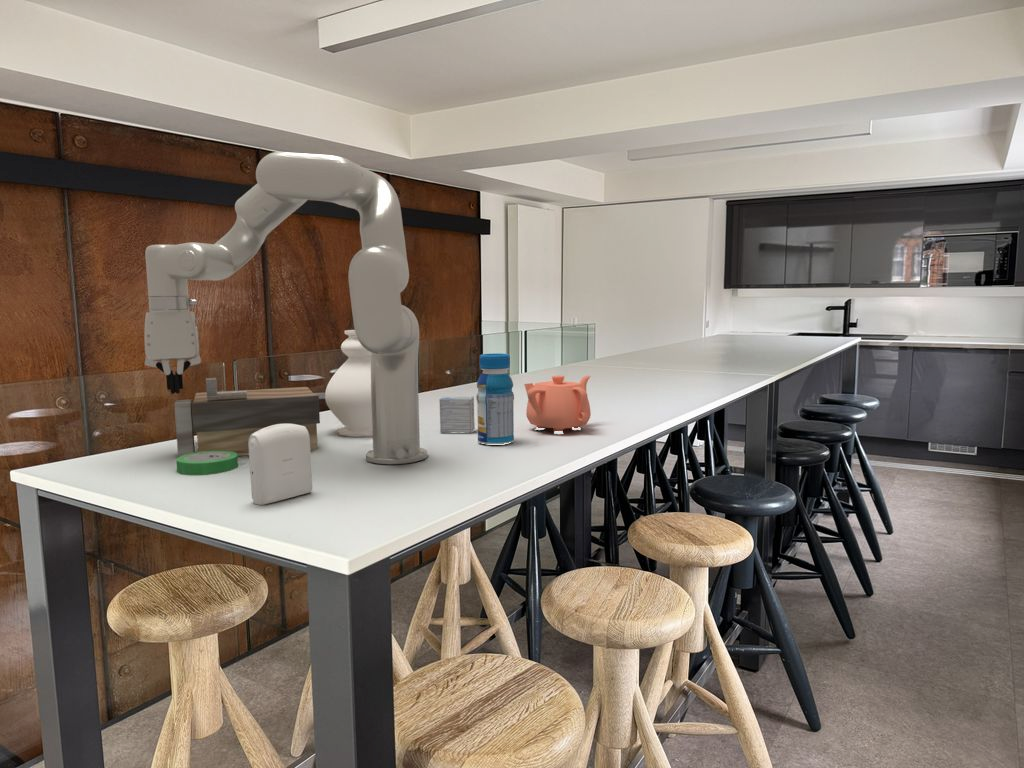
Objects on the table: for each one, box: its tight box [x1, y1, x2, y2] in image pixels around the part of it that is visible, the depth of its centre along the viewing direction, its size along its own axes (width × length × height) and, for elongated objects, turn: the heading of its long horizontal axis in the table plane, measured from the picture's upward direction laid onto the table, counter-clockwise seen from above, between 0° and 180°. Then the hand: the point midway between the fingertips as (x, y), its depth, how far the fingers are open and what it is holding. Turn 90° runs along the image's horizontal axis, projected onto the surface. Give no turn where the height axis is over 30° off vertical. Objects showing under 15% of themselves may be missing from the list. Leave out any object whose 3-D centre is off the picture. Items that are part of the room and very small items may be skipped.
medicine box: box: [439, 395, 476, 432], centre depth 175 cm, size 8×4×9 cm, turn 84°
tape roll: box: [176, 451, 239, 476], centre depth 141 cm, size 11×11×3 cm
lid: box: [192, 386, 321, 434], centre depth 161 cm, size 23×25×6 cm
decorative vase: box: [324, 329, 373, 438], centre depth 175 cm, size 18×18×25 cm
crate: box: [174, 399, 319, 458], centre depth 161 cm, size 20×28×11 cm
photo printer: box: [248, 424, 313, 506], centre depth 119 cm, size 10×4×12 cm, turn 140°
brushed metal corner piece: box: [205, 377, 247, 400], centre depth 155 cm, size 3×8×4 cm, turn 112°
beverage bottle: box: [475, 352, 515, 444], centre depth 161 cm, size 8×8×20 cm
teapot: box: [524, 375, 591, 431], centre depth 176 cm, size 16×17×14 cm
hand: (175, 392), depth 151 cm, fingers closed
